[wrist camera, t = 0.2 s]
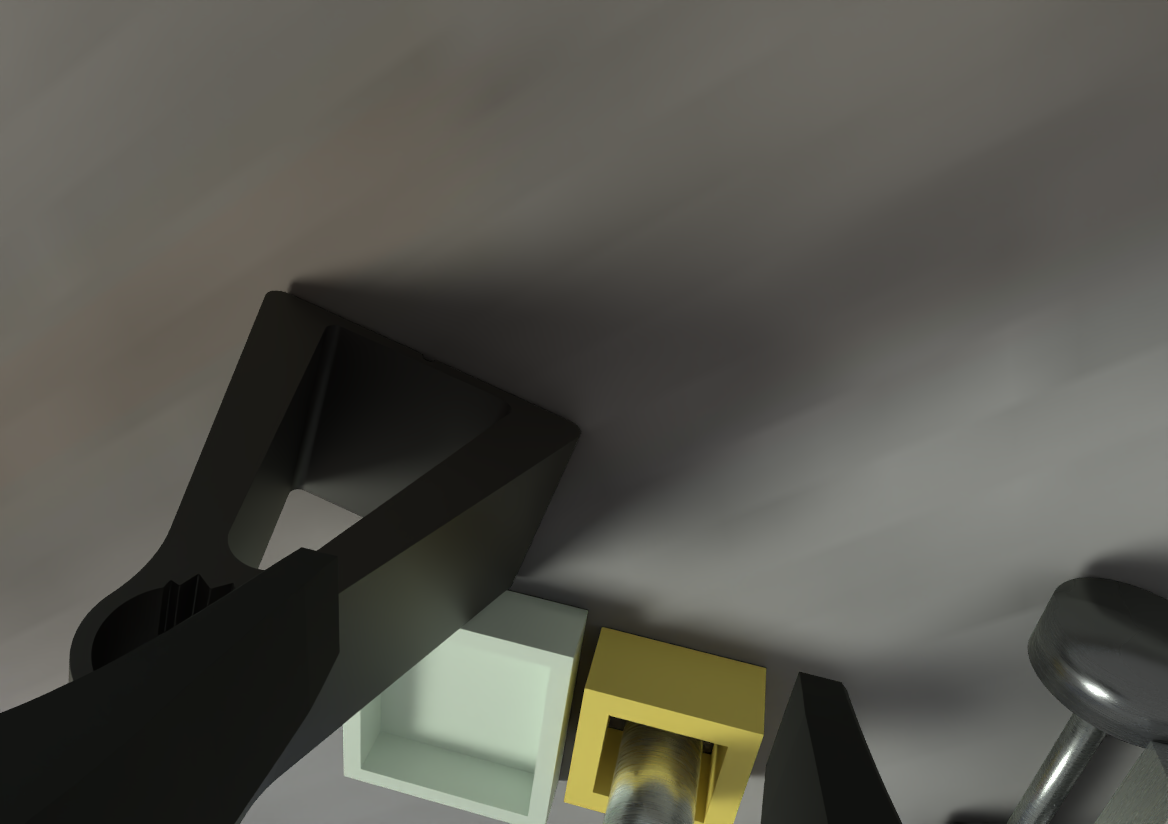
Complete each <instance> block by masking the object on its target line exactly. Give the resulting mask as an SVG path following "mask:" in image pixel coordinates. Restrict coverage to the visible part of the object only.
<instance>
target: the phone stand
mask: <svg viewBox="0 0 1168 824" xmlns="http://www.w3.org/2000/svg"><path fill="white" fill-rule="evenodd" d="M422 356H423V354H421V353H419V352H416V351H414V350H412V349H410V348H407V347H405V346H403V345H401V344H399V343H396V342H394V341H392V340H390V339H388V338H385V337H383V336H381V335H379V334H377V333H374V332H372V331H370V330H368V329H366V328H363V327H361V326H359V325H357V324H355V323H352V322H350V321H348V320H346V319H344V318H341V317H339V316H337V315H335V314H332V313H330V312H328V311H326V310H324V309H321V308H319V307H317V306H315V305H313V304H310V303H308V302H306V301H304V300H302V299H299V298H297V297H295V296H293V295H291V294H288V293H286V292H282V291H270V292H268V293H267V294H266V295H265V298H264V300H263V302H262V305H261V307H260V310H259V312H258V315H257V317H256V320H255V322H254V325H253V327H252V329H251V332H250V334H249V337H248V339H247V342H246V344H245V347H244V349H243V352H242V354H241V356H240V359H239V361H238V364H237V366H236V369H235V371H234V374H233V376H232V379H231V381H230V383H229V386H228V388H227V391H226V393H225V396H224V398H223V401H222V403H221V406H220V408H219V411H218V413H217V415H216V418H215V420H214V423H213V425H212V428H211V430H210V433H209V435H208V438H207V440H206V442H205V445H204V447H203V450H202V452H201V455H200V457H199V460H198V462H197V465H196V467H195V469H194V472H193V474H192V477H191V479H190V482H189V484H188V487H187V489H186V492H185V494H184V496H183V499H182V501H181V504H180V506H179V509H178V511H177V514H176V516H175V519H174V521H173V523H172V526H171V528H170V530H169V533H168V535H167V537H166V539H165V540H164V542H163V544H162V545H161V547H160V548H159V550H158V551H157V552H156V554H155V555H154V556H153V558H152V559H151V560H150V561H149V562H148V563H147V564H146V565H145V566H144V567H143V568H142V569H141V570H140V571H139V572H138V573H137V574H136V575H135V576H134V577H133V578H131V579H130V580H129V581H128V582H126V583H125V584H124V585H123V586H121V587H120V588H118V589H117V590H116V591H114V592H113V593H111V594H110V595H108V596H107V597H105V598H104V599H103V600H102V601H100V602H99V603H98V604H97V605H96V606H95V607H94V608H93V609H92V610H91V611H90V612H89V613H88V614H87V615H86V617H85V618H84V619H83V621H82V622H81V624H80V625H79V627H78V629H77V631H76V633H75V635H74V638H73V641H72V645H71V649H70V659H69V683H70V682H72V681H74V680H77V679H79V678H81V677H83V676H85V675H87V674H89V673H91V672H93V671H95V670H97V669H99V668H101V667H103V666H105V665H107V664H109V663H111V662H112V661H114V660H116V659H118V658H120V657H122V656H124V655H125V654H127V653H129V652H131V651H132V650H134V649H136V648H138V647H140V646H141V645H143V644H145V643H147V642H148V641H150V640H152V639H154V638H156V637H157V636H159V635H161V634H163V633H165V632H166V631H168V630H170V629H172V628H173V627H175V626H177V625H178V624H180V623H182V622H183V621H185V620H186V619H188V618H190V617H191V616H193V615H195V614H196V613H198V612H199V611H201V610H203V609H204V608H206V607H208V606H209V605H211V604H213V603H214V602H216V601H217V600H219V599H221V598H222V597H224V596H225V595H227V594H229V593H230V592H232V591H233V590H235V589H236V588H238V587H240V586H241V585H243V584H244V583H246V582H247V581H249V580H251V579H252V578H254V577H255V576H257V575H258V574H260V573H261V572H263V571H265V570H260V569H258V567H259V565H260V562H261V560H262V557H263V555H264V553H265V550H266V548H267V545H268V543H269V540H270V538H271V536H272V533H273V531H274V528H275V526H276V523H277V521H278V519H279V516H280V514H281V511H282V509H283V507H284V504H285V502H286V499H287V497H288V494H289V492H290V491H292V490H294V489H302V490H304V491H307V492H309V493H311V494H313V495H315V496H318V497H320V498H322V499H324V500H326V501H329V502H331V503H333V504H335V505H337V506H340V507H342V508H344V509H346V510H348V511H351V512H353V513H355V514H357V515H359V516H362V517H364V518H362V519H361V520H359V521H358V522H357V523H355V524H354V525H352V526H351V527H350V528H348V529H347V530H345V531H344V532H343V533H341V534H340V535H338V536H337V537H336V538H334V539H333V540H331V541H330V542H329V543H327V544H326V545H324V546H323V547H322V548H320V549H319V550H317V551H318V552H322V553H326V554H330V555H334V556H338V591H339V642H340V653H339V655H338V657H337V659H336V661H335V663H334V665H333V667H332V669H331V671H330V673H329V675H328V677H327V679H326V681H325V683H324V685H323V687H322V689H321V691H320V693H319V695H318V697H317V699H316V701H315V702H314V704H313V706H312V708H311V710H310V712H309V713H308V715H307V716H306V718H305V719H304V721H303V723H302V724H301V726H300V727H299V729H298V730H297V732H296V733H295V735H294V736H293V738H292V739H291V741H290V742H289V744H288V745H287V747H286V748H285V750H284V751H283V753H282V754H281V756H280V757H279V759H278V760H277V762H276V763H275V765H274V766H273V768H272V769H271V771H270V772H269V774H268V775H267V777H266V778H265V779H264V781H263V782H262V784H261V785H260V787H259V788H258V790H257V791H256V793H255V794H254V796H253V797H252V799H251V800H250V802H249V803H248V805H247V806H246V808H245V809H244V811H243V812H242V814H241V815H240V817H239V818H238V820H237V821H236V822H235V824H240V823H241V821H242V819H243V818H244V816H245V815H246V813H247V812H248V810H249V809H250V807H251V806H252V805H253V803H254V802H255V801H256V800H257V798H258V797H259V796H260V795H261V794H262V793H263V792H264V790H265V789H266V788H267V787H268V786H269V785H271V784H272V783H273V782H274V781H275V780H276V779H277V778H278V777H280V776H281V775H282V774H283V773H284V772H286V771H287V770H288V769H289V768H290V767H292V766H293V765H294V764H295V763H297V762H298V761H299V760H300V759H301V758H303V757H304V756H305V755H306V754H308V753H309V752H310V751H311V750H312V749H314V748H315V747H316V746H317V745H318V744H320V743H321V742H322V741H323V740H325V739H326V738H327V737H328V736H329V735H331V734H332V733H333V732H334V731H336V730H337V729H338V728H339V727H340V726H342V725H343V724H344V723H345V722H346V721H348V720H349V719H350V718H351V717H353V716H354V715H355V714H356V713H357V712H359V711H360V710H361V709H362V708H364V707H365V706H366V705H367V704H368V703H370V702H371V701H372V700H373V699H375V698H376V697H377V696H378V695H379V694H381V693H382V692H383V691H384V690H385V689H387V688H388V687H389V686H390V685H392V684H393V683H394V682H395V681H396V680H398V679H399V678H400V677H401V676H403V675H404V674H405V673H406V672H407V671H409V670H410V669H411V668H412V667H413V666H415V665H416V664H417V663H418V662H420V661H421V660H422V659H423V658H424V657H426V656H427V655H428V654H429V653H431V652H432V651H433V650H434V649H435V648H437V647H438V646H439V645H440V644H441V643H443V642H444V641H445V640H446V639H448V638H449V637H450V636H451V635H452V634H454V633H455V632H456V631H457V630H459V629H460V628H461V627H462V626H463V625H465V624H466V623H467V622H468V621H470V620H471V619H472V618H473V617H474V616H476V615H477V614H478V613H479V612H480V611H482V610H483V609H484V608H485V607H487V606H488V605H489V604H490V603H491V602H493V601H494V600H495V599H496V598H498V597H499V596H500V595H501V594H502V593H504V592H505V591H506V590H507V589H508V588H510V587H511V586H512V583H513V581H514V579H515V577H516V575H517V572H518V570H519V568H520V566H521V564H522V561H523V559H524V557H525V555H526V553H527V551H528V548H529V546H530V544H531V542H532V540H533V537H534V535H535V533H536V531H537V529H538V526H539V524H540V522H541V520H542V518H543V515H544V513H545V511H546V509H547V507H548V504H549V502H550V500H551V498H552V496H553V493H554V491H555V489H556V487H557V485H558V482H559V480H560V478H561V476H562V474H563V472H564V469H565V467H566V465H567V463H568V461H569V458H570V456H571V454H572V452H573V450H574V447H575V445H576V443H577V441H578V439H579V436H580V434H581V431H580V429H579V427H578V426H577V425H576V424H574V423H573V422H571V421H569V420H566V419H564V418H562V417H560V416H557V415H555V414H553V413H551V412H549V411H546V410H544V409H542V408H540V407H538V406H535V405H533V404H531V403H529V402H527V401H524V400H522V399H520V398H518V397H516V396H513V395H511V394H509V393H507V392H505V391H502V390H500V389H498V388H496V387H494V386H491V385H489V384H487V383H485V382H482V381H480V380H478V379H476V378H474V377H471V376H469V375H467V374H465V373H463V372H460V371H458V370H456V369H454V368H452V367H449V366H447V365H445V364H443V363H441V362H438V361H436V360H435V361H433V362H430V361H426V360H425V359H424V358H423V357H422Z"/></svg>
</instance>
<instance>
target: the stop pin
mask: <svg viewBox="0 0 1168 824" xmlns="http://www.w3.org/2000/svg"><path fill="white" fill-rule="evenodd" d="M702 749H703V740H700V739H696V738H693V737H689V736H685V735H681V734H677V733H674V732H670V731H666V730H662V729H659V728H655V727H651V726H647V725H644V724H640V723H636V722H632V721H628V720H626V721H625V726H624V730H623V735H622V739H621V744H620V748H619V753H618V758H617V762H616V767H615V771H614V776H613V781H612V785H611V790H610V794H609V799H608V803H607V808H606V813H605V817H604V822H603V824H694V819H695V810H696V801H697V793H698V784H699V775H700V766H701V758H702Z"/></svg>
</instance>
